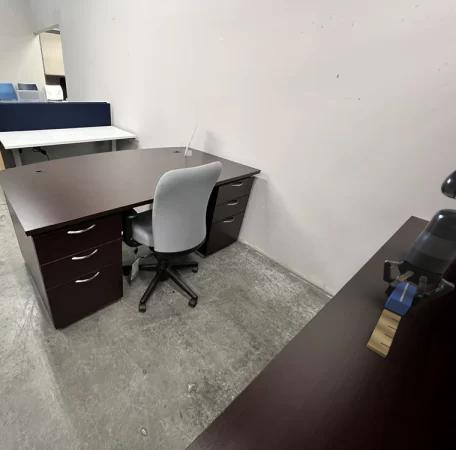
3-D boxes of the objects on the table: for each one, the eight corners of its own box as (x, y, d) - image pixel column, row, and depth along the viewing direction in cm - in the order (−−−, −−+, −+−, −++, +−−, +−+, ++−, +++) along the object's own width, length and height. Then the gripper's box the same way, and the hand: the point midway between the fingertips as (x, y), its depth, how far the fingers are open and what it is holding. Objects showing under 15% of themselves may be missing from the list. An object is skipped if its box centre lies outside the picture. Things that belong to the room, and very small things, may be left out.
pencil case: (392, 288, 73) (399, 279, 72) (410, 296, 71) (417, 286, 69) (384, 306, 66) (391, 296, 65) (403, 316, 64) (411, 305, 62)
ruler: (383, 311, 67) (384, 308, 67) (399, 319, 65) (401, 316, 64) (365, 346, 57) (368, 343, 56) (384, 358, 55) (387, 355, 54)
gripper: (477, 258, 58) (435, 309, 66) (399, 234, 67) (371, 281, 75) (477, 270, 53) (432, 323, 61) (394, 242, 63) (364, 291, 71)
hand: (398, 299), depth 68 cm, fingers closed on pencil case, 4 cm apart
